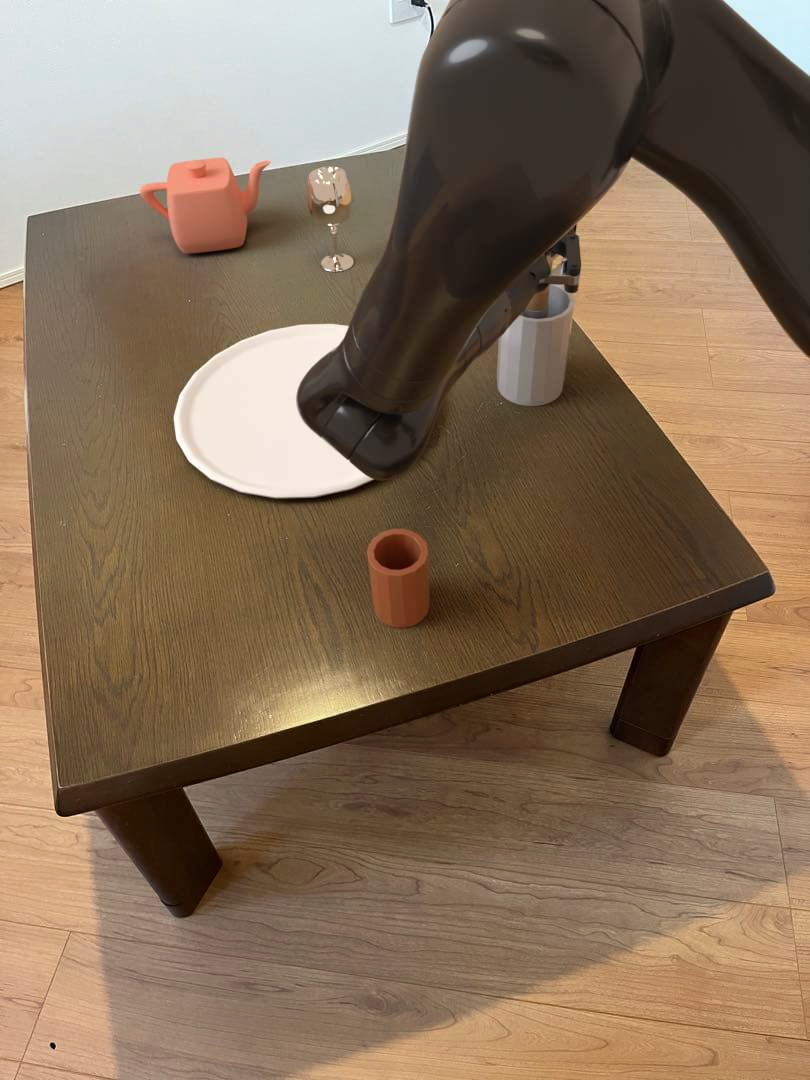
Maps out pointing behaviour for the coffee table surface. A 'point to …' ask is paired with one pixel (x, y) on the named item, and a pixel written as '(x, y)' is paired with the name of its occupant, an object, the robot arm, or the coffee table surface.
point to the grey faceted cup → (536, 353)
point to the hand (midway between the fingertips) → (556, 215)
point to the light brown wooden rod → (538, 304)
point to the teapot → (205, 204)
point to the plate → (262, 418)
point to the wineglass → (331, 209)
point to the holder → (399, 577)
